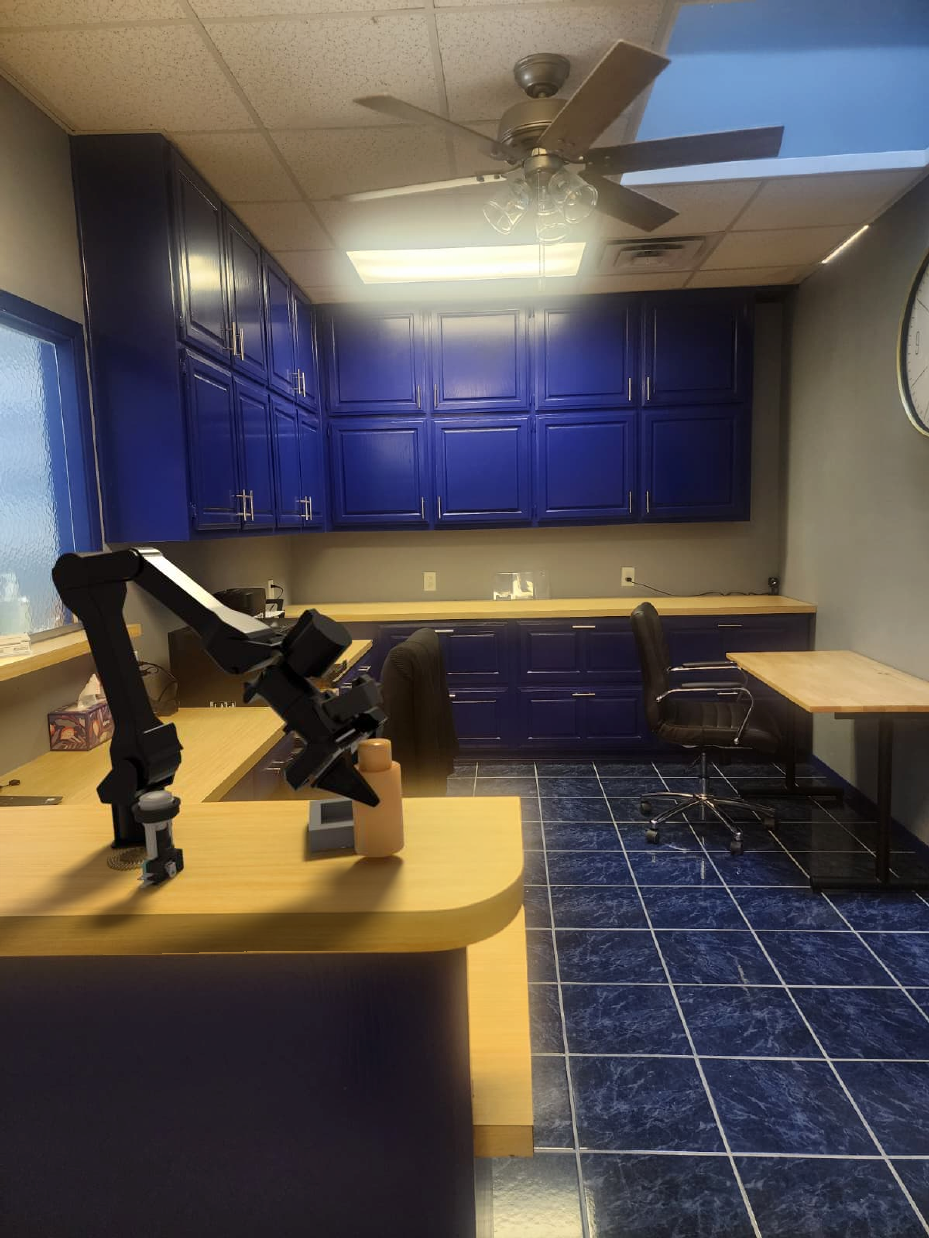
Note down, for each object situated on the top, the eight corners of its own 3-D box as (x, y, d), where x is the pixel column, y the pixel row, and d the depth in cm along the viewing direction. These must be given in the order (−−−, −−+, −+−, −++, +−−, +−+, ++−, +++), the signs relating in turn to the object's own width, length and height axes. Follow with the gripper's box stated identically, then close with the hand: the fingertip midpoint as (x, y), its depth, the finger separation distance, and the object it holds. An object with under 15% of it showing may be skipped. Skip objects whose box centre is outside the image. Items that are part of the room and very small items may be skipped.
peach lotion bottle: (356, 859, 86) (350, 752, 84) (353, 839, 92) (348, 738, 90) (406, 853, 87) (401, 747, 86) (401, 834, 93) (396, 734, 91)
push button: (159, 894, 83) (152, 809, 81) (120, 890, 84) (112, 806, 83) (196, 868, 89) (189, 789, 88) (159, 864, 90) (151, 786, 89)
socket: (310, 851, 92) (308, 830, 92) (310, 820, 103) (309, 800, 103) (396, 841, 94) (395, 820, 94) (388, 811, 105) (387, 792, 105)
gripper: (301, 672, 79) (402, 776, 77) (369, 646, 97) (452, 730, 95) (243, 740, 82) (338, 842, 80) (319, 703, 100) (399, 785, 98)
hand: (387, 794), depth 88 cm, fingers closed on peach lotion bottle, 6 cm apart
